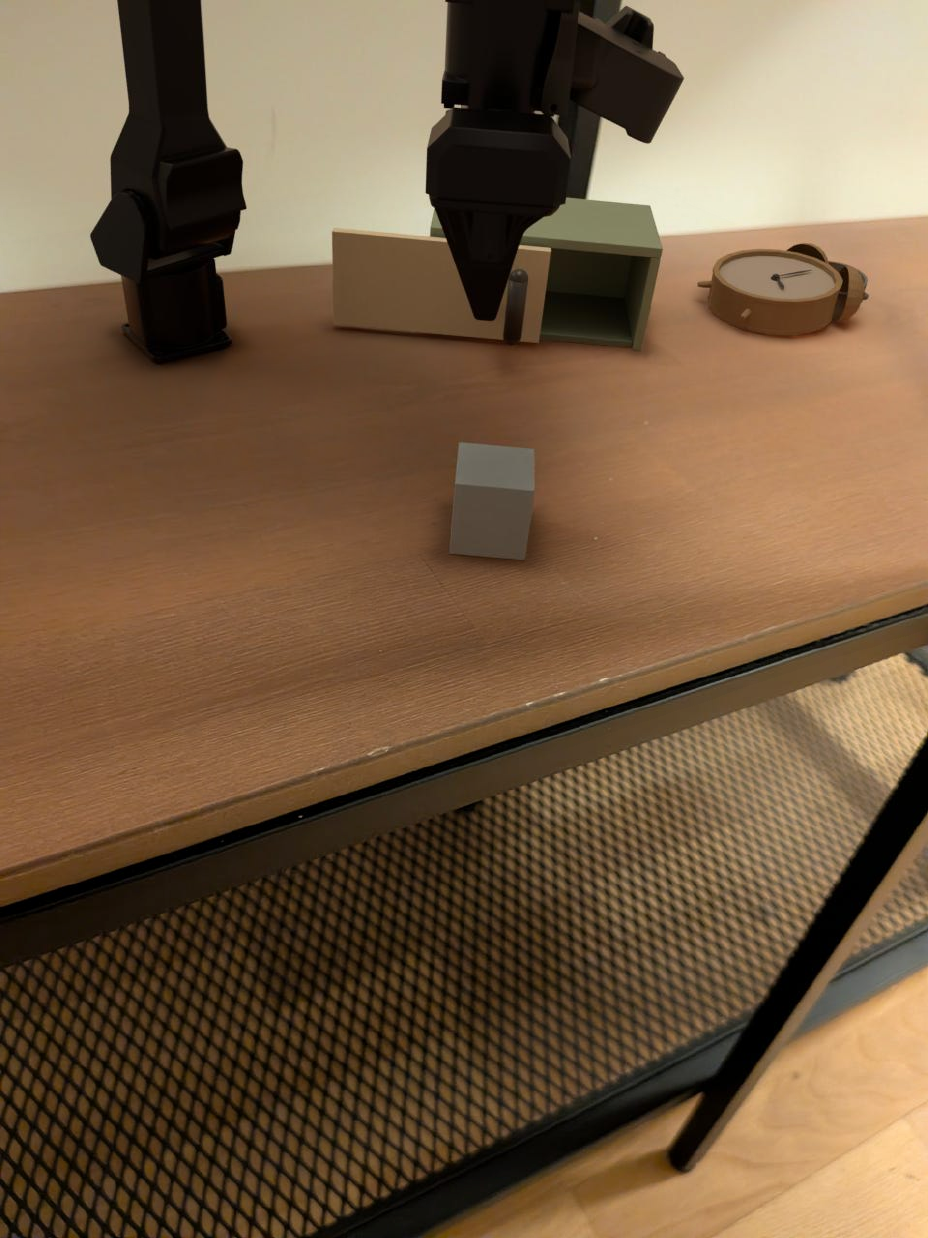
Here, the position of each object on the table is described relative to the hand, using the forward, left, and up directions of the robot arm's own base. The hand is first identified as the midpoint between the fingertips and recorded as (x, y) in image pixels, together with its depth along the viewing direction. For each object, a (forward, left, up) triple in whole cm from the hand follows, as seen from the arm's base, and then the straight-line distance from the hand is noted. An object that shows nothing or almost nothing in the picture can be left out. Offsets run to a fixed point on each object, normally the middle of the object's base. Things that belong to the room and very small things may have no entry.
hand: (486, 285), depth 53 cm
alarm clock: (+43, +8, -14) cm, 46 cm away
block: (-2, -5, -13) cm, 14 cm away
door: (+10, +17, -13) cm, 23 cm away
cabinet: (+21, +18, -13) cm, 31 cm away
